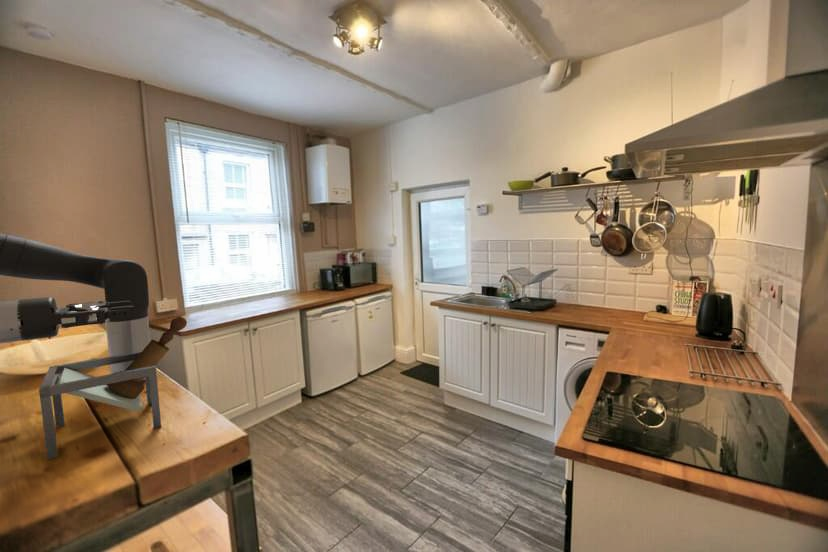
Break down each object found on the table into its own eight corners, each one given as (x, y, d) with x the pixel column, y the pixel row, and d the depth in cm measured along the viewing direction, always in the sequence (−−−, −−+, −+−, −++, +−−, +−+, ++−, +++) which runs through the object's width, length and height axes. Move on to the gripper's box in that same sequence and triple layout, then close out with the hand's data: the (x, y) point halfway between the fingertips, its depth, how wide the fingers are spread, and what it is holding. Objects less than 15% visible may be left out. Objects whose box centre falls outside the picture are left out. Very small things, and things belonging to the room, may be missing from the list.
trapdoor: (61, 372, 73) (64, 367, 74) (136, 393, 81) (138, 389, 82) (54, 390, 64) (58, 385, 64) (139, 412, 72) (142, 407, 73)
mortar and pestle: (143, 400, 77) (202, 329, 83) (117, 395, 71) (183, 319, 77) (124, 385, 79) (183, 317, 85) (98, 379, 73) (163, 306, 80)
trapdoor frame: (56, 426, 75) (49, 366, 73) (153, 402, 85) (149, 349, 84) (47, 459, 63) (39, 389, 62) (161, 427, 73) (155, 366, 72)
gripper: (28, 333, 71) (132, 320, 81) (14, 349, 60) (136, 332, 70) (23, 295, 70) (129, 287, 80) (8, 304, 59) (133, 294, 70)
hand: (132, 308), depth 75 cm, fingers open, 8 cm apart
